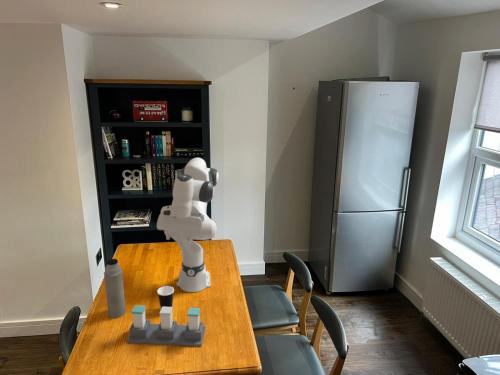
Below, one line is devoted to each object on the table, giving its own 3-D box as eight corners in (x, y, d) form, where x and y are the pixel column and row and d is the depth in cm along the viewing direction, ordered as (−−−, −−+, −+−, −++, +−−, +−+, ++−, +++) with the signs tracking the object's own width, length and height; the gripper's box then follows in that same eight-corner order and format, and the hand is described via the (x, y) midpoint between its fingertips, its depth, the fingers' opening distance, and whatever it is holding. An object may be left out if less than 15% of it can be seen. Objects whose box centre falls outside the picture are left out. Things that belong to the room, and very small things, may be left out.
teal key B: (190, 325, 163) (189, 307, 160) (200, 325, 163) (200, 308, 160) (188, 332, 158) (187, 314, 156) (198, 332, 158) (198, 314, 156)
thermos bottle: (114, 306, 181) (110, 255, 173) (129, 309, 179) (124, 258, 171) (104, 316, 173) (98, 263, 165) (119, 319, 171) (114, 266, 163)
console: (136, 324, 168) (135, 315, 167) (205, 328, 167) (205, 318, 166) (126, 343, 157) (125, 333, 155) (201, 346, 156) (201, 336, 154)
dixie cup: (177, 307, 182) (177, 287, 179) (169, 316, 174) (168, 296, 171) (163, 303, 184) (162, 284, 181) (155, 313, 177) (153, 293, 174)
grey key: (163, 324, 163) (162, 306, 160) (173, 324, 163) (172, 307, 160) (160, 330, 159) (159, 313, 156) (171, 331, 158) (170, 313, 156)
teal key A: (136, 322, 163) (135, 305, 161) (146, 323, 163) (145, 305, 161) (133, 329, 159) (131, 311, 156) (143, 330, 159) (142, 312, 156)
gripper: (204, 211, 168) (201, 239, 171) (159, 206, 165) (156, 235, 168) (204, 215, 161) (201, 244, 164) (157, 210, 159) (154, 240, 162)
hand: (178, 240), depth 166 cm, fingers open, 8 cm apart
